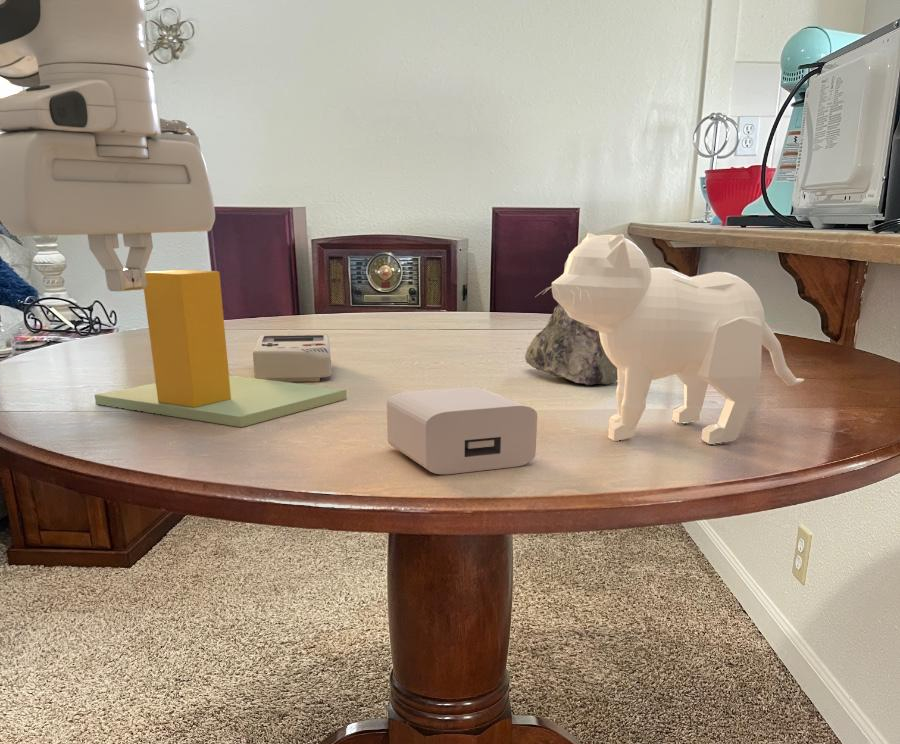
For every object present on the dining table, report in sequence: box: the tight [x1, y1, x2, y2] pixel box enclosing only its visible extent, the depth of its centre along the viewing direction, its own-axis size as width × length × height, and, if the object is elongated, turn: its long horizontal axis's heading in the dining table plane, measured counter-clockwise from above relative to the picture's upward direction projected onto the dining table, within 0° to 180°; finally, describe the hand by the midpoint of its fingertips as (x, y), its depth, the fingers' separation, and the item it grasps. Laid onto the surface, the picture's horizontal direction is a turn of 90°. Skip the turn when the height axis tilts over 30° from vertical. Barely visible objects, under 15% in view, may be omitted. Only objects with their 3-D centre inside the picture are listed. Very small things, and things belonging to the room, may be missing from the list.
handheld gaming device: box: [252, 333, 333, 383], centre depth 109 cm, size 9×15×4 cm, turn 8°
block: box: [143, 269, 231, 408], centre depth 85 cm, size 5×5×12 cm
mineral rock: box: [524, 303, 618, 386], centre depth 105 cm, size 13×11×10 cm
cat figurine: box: [535, 232, 805, 443], centre depth 77 cm, size 25×10×17 cm, turn 102°
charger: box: [386, 386, 538, 475], centre depth 74 cm, size 5×9×15 cm
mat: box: [94, 374, 348, 428], centre depth 92 cm, size 20×16×1 cm
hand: (127, 290), depth 78 cm, fingers closed
